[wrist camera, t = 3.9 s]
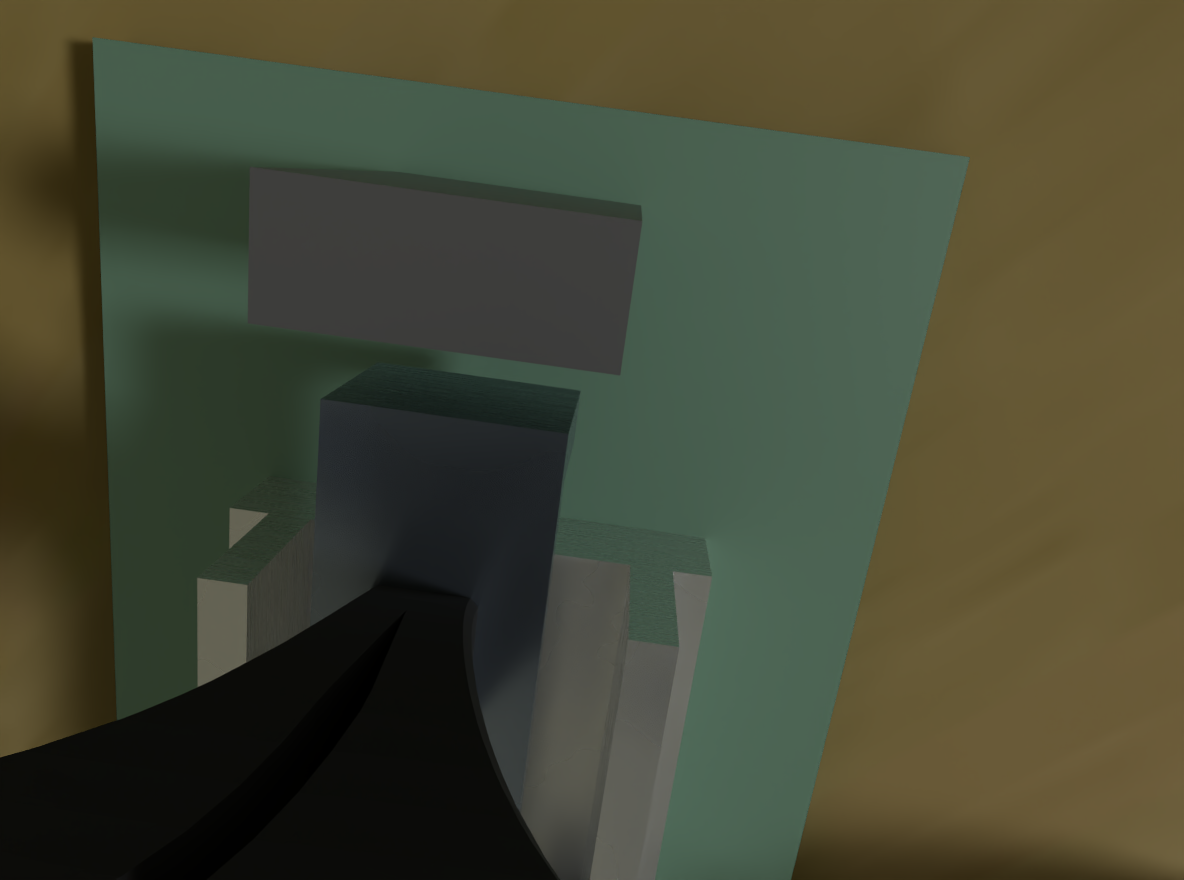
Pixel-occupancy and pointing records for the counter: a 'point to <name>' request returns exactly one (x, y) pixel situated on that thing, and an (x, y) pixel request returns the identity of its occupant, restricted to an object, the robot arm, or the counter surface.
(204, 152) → the motherboard
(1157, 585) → the counter surface
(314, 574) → the metal bar
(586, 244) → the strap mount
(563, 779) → the heat sink
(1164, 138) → the counter surface
